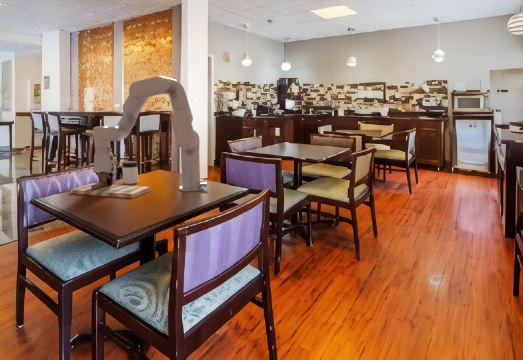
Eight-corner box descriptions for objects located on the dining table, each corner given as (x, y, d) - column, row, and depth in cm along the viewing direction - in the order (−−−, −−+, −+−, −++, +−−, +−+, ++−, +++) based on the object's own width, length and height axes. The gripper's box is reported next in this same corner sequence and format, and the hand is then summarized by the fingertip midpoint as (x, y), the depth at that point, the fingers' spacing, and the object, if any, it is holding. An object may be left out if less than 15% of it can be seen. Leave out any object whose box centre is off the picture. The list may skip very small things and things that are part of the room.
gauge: (113, 184, 203) (111, 171, 202) (96, 189, 191) (95, 176, 189) (106, 184, 204) (105, 171, 203) (89, 189, 192) (88, 175, 190)
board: (150, 190, 198) (150, 186, 198) (132, 198, 183) (132, 193, 183) (92, 186, 208) (92, 183, 208) (70, 193, 193) (70, 189, 193)
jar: (126, 184, 213) (125, 163, 210) (120, 182, 218) (118, 162, 216) (141, 182, 219) (140, 162, 216) (135, 180, 224) (133, 160, 222)
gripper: (121, 150, 198) (124, 184, 202) (94, 149, 203) (97, 182, 206) (112, 151, 191) (115, 187, 195) (84, 150, 196) (87, 185, 199)
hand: (106, 184), depth 201 cm, fingers closed on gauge, 4 cm apart
